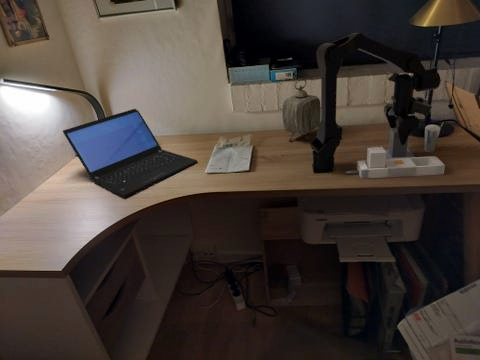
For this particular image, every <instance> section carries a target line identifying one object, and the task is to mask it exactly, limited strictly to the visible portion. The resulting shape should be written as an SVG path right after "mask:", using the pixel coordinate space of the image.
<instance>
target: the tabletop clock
mask: <svg viewBox="0 0 480 360" xmlns="http://www.w3.org/2000/svg"><path fill="white" fill-rule="evenodd" d="M300 81H304V85H303V86H302V85H299V87H297V83H299V82H300ZM306 86H307V79H306V78H304V77H301V78H299V79H297V80H296V81H295V82H294V88H295V90H297V91H296V92H295V94H294V95H292V96H289V97H288V98H286V99H285V100H284V101H283V103H282V110H281V111H282V114H281V115H282V123H283V124H282V125H283V130H284V131H285V132H287V133H291V136H290V137H288V139H287V140H288V142H292V141H293V137H294V136H295V134H297V135H305V136H304V139H305V140H306V141H307V140H309V138H310V136H308V133H310V132H311V131H314V130H315V129H318V126H319V124H320V122H321V100H320V98H319V97H318V96H317V95H312V94H308V92H307V91H306V90H304V88H305V87H306Z"/></svg>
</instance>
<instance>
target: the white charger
mask: <svg viewBox="0 0 480 360" xmlns="http://www.w3.org/2000/svg"><path fill="white" fill-rule="evenodd" d="M366 151H367V152H366V160H367V167H368V169H373V168H385V161H386V151H385V148H384V146H373V147H367V150H366Z"/></svg>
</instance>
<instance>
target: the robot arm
mask: <svg viewBox="0 0 480 360" xmlns="http://www.w3.org/2000/svg"><path fill="white" fill-rule="evenodd" d="M357 50H358V51H361V52H363V53H366V54H368V55H371V56H373V57H375V58H378V59H380V60H383V61H384V62H385V63H386V64H388V66H390V67H391V68H393V69H394V70H395V71H399V72H403V73H401V74H399V72H393V74H392V75H390V76H389V77H388V79H387V80H388V81H390V82H393V83H394V84H393V95H391V98H390V100H392V103H387V104H386V105H385V106H384V107H383V113H384V115H385V116H384V117H385V118H386V121H387V123H388V126H389V128H390V130H391V128H396V130H397V133H398V137H399V140H400V143H401V145H405V143H406V141H407V139H408V140H409V137H410V135H411V132H412V131H413V130H417V129H418V128H420V127H421V124H422V120H421V119H419V118H418V117H417V116H416V113H417V114H420V115H423V116H426V117H427V116H429V113H430V112H431V110H432V107H433V106H432V105H431V104H429V103H427V102H425V101H424V98H423V97H420V96H416V98H415V96H414V91H416V92H417V93H419V92H424V91H431V90H436V89H438V88H439V86H441V82H442V81H441V75H440V73H439V72H438V67H435V66H433V67H427V68H425V66H424V65H423V64H422V60H421V56H420V54H419V53H416V52H410V51H406V50H401V49H395V48H393V47H391V46H389V45H386V44H384V43H382V42H379V41H377V40H375V39H373V38H370V37H368V36H366V35H365V34H364V33H361V32H352V33H350V34H348V35H347V36H344V37H342V38H338V39H337V40H334V41H332V42H325V43H322V44H320V45H319V47H317V49H316V52H315V53H316V55H315V56H316V62H317V66H318V70H319V72H320V75H321V76H320V77H321V81H320V83H321V84H320V85H321V86H320V88H321V89H320V91H321V96H320V97H321V100H320V108H321V119H320V124H319V126H318V127H317V131H316V136H315V137H314V138H313V139H312V140H311V142H310V143H309V146H310V148H311V150H312V164H311V166H312V173H313V174H319V173H323V174H324V173H333V172H334V168H335V154H336V150H337V148H338V147H339V146H340V145H341V141H343V136H342V134H343V127H342V126H341V125H339V124H338V123H337V95H338V94H337V88H338V86H337V85H338V74H339V73H340V69H341V68H342V63H343V59H344V58H347V57H348V56H350V55H351V54H353V53H354V52H355V51H357ZM410 74H411V75H410Z"/></svg>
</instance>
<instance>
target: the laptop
mask: <svg viewBox="0 0 480 360" xmlns="http://www.w3.org/2000/svg"><path fill="white" fill-rule="evenodd" d="M62 132H63V135H64V136H65V138H66V140H67V142H68V143H69V144H70V146H71V148H72V149H73V151H74V153H75V155H76V156H77V158H78V159H79V161H80V163H81V164H82V167H84V169H85V171H86V172H87V174H88V175H89V178H90V179H91V180H92V181H93V183H96V184H97V185H99V186H101V187H102V188H104V189H107V190H109V191H110V192H112V193H114V194H116V195H119V196H120V197H123V198H128V197H130V196H132V195H133V194H136V193H137V192H139V191H141V190H143V189H145V188H147V187H150V186H152V185H154V184H156V183H158V182H160V181H162V180H164V179H166V178H168V177H171V176H173V175H174V174H176V173H178V172H180V171H182V170H184V169H186V168H189V167H191V166H193V165H195V164H196V163H198V160H197V159H195V158H191V157H188V156H185V155H181V154H178V153H174V152H171V151H168V150H164V149H162V147H161V146H160V144H159V142H158V140H157V139H156V137H155V135H154V133H153V132H152V130H151V129H150V127H149V125H148V123H146V121H145V119H144V118H143V116H142V114H141V113H140V111H139V110H138V109H137V108H133V109H128V110H126V111H121V112H119V113H116V114H113V115H109V116H105V117H103V118H100V119H97V120H93V121H90V122H87V123H83V124H80V125H76V126H73V127H70V128H66V129H63V130H62Z"/></svg>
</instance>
